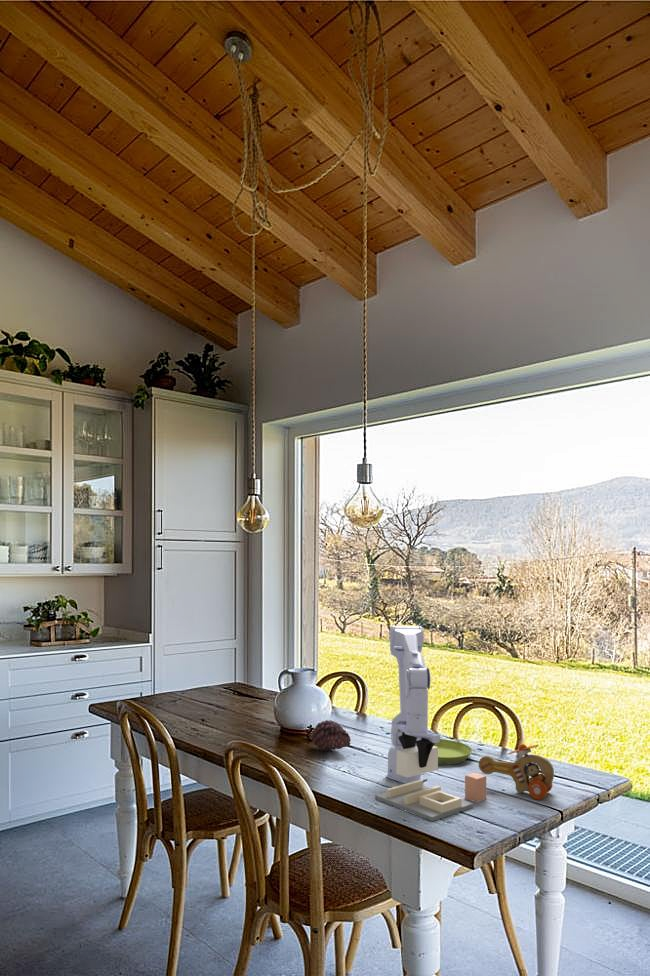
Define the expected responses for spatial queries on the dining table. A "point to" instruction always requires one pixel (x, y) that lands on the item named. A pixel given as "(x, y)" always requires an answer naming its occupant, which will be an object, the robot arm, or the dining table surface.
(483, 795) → the block
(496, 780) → the dining table surface
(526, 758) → the toy helicopter
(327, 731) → the pine cone
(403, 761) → the block
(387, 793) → the assembly jig
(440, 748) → the saucer
